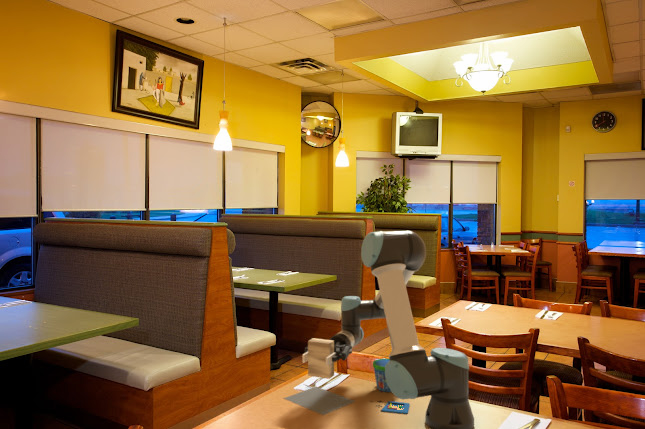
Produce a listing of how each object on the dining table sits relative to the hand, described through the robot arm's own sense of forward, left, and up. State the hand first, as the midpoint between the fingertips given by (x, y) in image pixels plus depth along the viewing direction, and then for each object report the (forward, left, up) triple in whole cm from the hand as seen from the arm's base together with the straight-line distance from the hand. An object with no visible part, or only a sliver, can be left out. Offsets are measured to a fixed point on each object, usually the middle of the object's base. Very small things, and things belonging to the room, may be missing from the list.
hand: (315, 360), depth 169 cm
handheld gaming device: (-14, -20, -18) cm, 31 cm away
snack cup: (-4, -33, -18) cm, 38 cm away
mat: (+6, -7, -18) cm, 20 cm away
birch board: (+2, -4, -7) cm, 8 cm away
